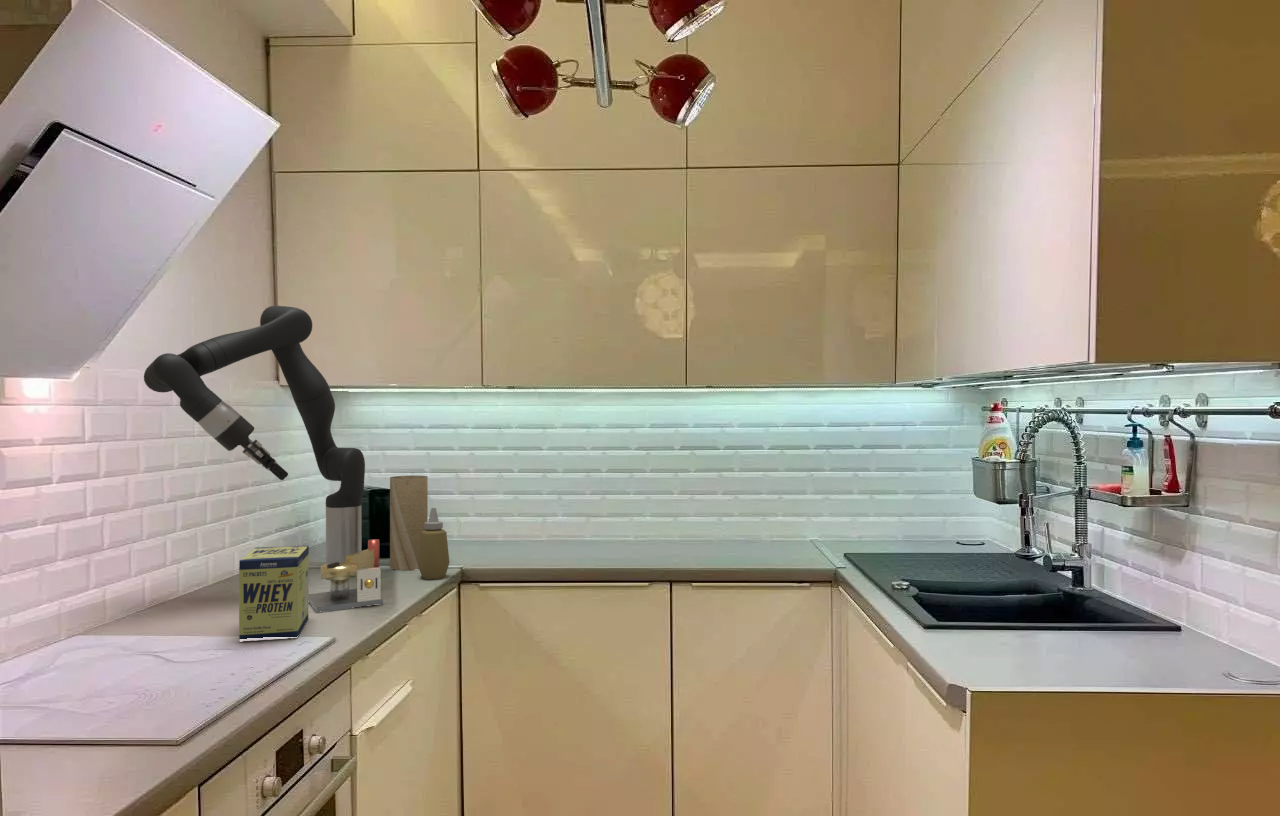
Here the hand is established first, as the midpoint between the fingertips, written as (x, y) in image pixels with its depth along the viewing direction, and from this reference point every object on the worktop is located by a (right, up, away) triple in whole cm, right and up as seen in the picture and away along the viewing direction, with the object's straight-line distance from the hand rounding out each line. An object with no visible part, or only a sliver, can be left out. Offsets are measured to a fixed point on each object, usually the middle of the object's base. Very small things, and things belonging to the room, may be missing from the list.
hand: (285, 477), depth 186 cm
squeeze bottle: (+29, -28, +21) cm, 46 cm away
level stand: (+16, -28, -6) cm, 33 cm away
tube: (+19, -28, +34) cm, 48 cm away
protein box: (+11, -28, -28) cm, 41 cm away
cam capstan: (+16, -22, -1) cm, 28 cm away
